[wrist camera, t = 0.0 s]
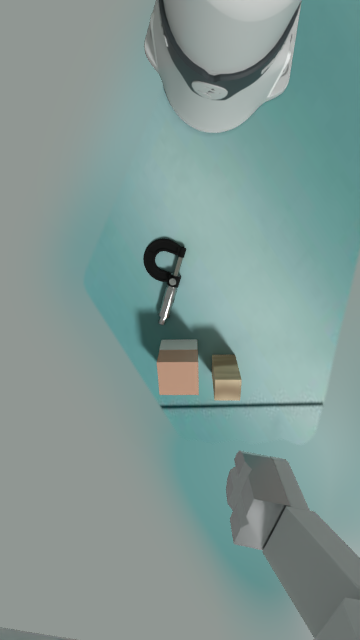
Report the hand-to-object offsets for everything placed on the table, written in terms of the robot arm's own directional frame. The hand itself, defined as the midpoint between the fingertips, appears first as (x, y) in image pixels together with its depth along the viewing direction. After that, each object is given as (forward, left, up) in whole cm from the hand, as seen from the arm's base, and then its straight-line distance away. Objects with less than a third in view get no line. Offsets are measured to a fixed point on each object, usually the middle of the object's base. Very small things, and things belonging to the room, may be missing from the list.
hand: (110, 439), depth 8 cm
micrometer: (+7, -2, -40) cm, 40 cm away
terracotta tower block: (+21, +5, -35) cm, 41 cm away
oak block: (+21, +14, -39) cm, 46 cm away
